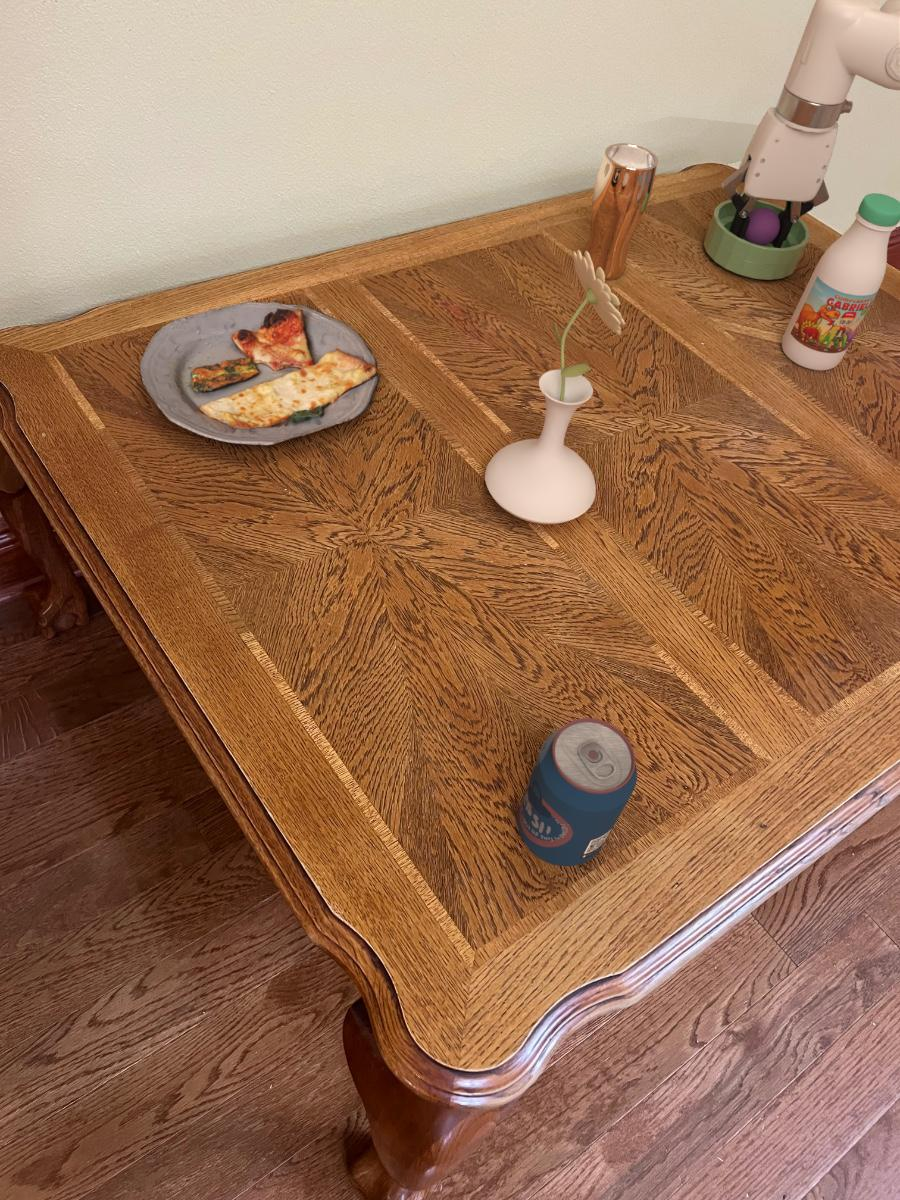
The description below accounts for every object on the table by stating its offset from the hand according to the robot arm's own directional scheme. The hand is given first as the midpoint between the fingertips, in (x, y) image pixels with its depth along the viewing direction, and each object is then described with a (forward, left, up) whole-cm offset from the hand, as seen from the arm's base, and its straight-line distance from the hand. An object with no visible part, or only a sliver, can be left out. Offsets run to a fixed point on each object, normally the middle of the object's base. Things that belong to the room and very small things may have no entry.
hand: (755, 241), depth 130 cm
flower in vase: (+35, +49, -3) cm, 60 cm away
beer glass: (+22, +6, -3) cm, 23 cm away
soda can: (+37, +87, -3) cm, 95 cm away
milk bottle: (-3, +22, -3) cm, 22 cm away
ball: (0, 0, +2) cm, 2 cm away
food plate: (+64, +35, -3) cm, 73 cm away
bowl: (0, 0, -2) cm, 2 cm away
